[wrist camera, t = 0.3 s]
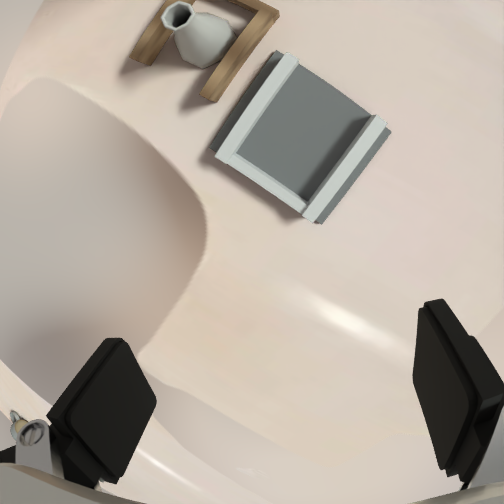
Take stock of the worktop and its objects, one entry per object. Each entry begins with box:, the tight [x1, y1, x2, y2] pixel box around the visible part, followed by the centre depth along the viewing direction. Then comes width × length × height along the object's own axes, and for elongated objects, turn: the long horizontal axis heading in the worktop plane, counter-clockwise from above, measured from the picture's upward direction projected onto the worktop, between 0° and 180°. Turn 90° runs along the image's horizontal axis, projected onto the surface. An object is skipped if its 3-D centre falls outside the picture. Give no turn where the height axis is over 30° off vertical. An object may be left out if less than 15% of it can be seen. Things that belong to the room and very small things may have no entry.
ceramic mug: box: [10, 411, 28, 440], centre depth 71 cm, size 11×8×8 cm
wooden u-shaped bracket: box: [129, 0, 280, 102], centre depth 29 cm, size 13×11×4 cm
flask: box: [160, 1, 237, 69], centre depth 27 cm, size 7×7×10 cm
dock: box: [209, 50, 391, 224], centre depth 33 cm, size 14×16×3 cm
